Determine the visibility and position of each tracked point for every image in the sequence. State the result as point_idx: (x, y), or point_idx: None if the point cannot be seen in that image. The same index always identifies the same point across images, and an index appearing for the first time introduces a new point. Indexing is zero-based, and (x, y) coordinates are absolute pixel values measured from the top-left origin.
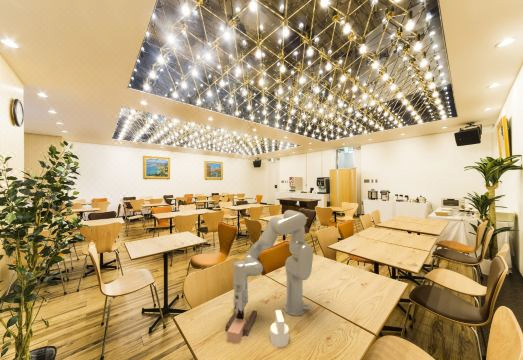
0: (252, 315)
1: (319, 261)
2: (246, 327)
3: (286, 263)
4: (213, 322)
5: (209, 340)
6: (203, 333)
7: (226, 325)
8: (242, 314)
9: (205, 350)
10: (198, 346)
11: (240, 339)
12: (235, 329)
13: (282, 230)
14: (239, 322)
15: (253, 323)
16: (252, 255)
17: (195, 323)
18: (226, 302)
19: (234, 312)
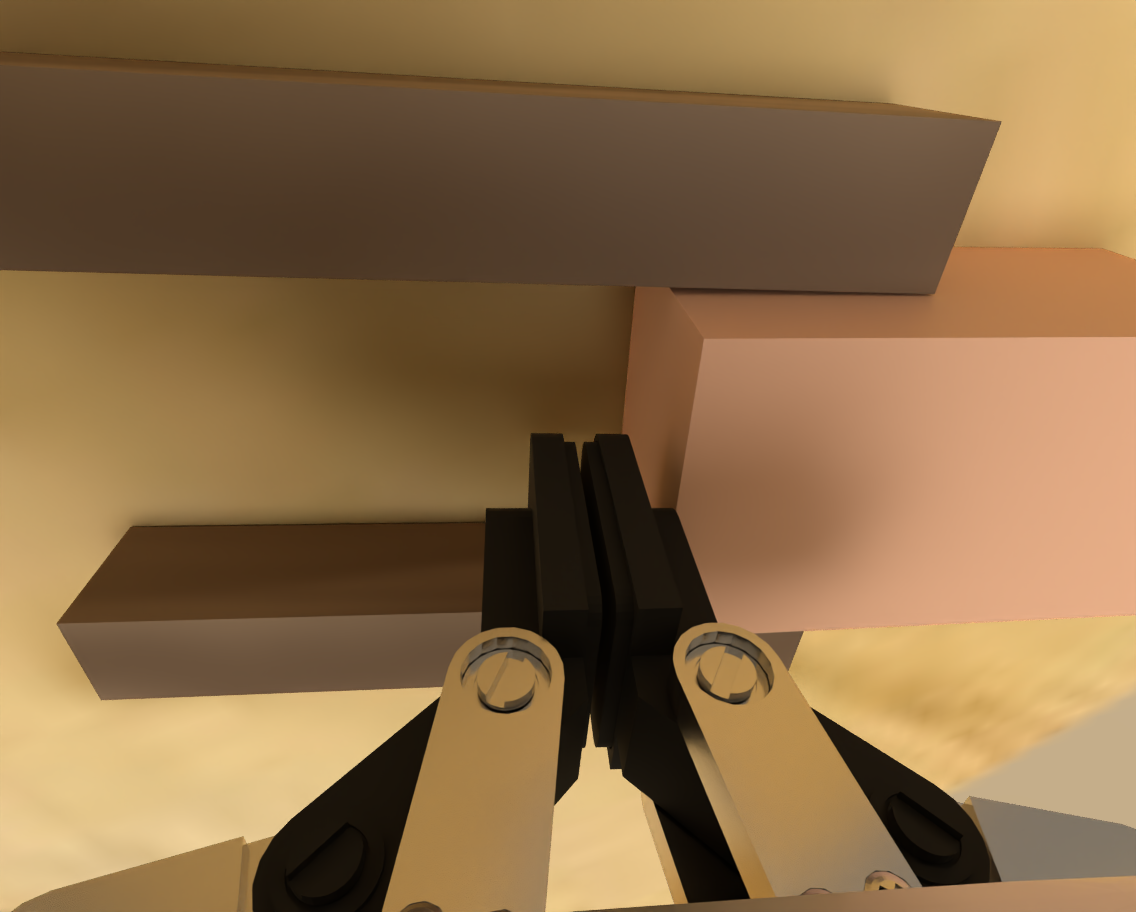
0: (177, 184)
1: None
2: (865, 207)
3: None
4: (584, 769)
5: (938, 679)
6: None
7: (791, 660)
8: (667, 568)
9: (1112, 648)
10: (1023, 726)
11: (1017, 252)
12: (1124, 483)
13: None
14: (832, 486)
15: (362, 73)
16: None
17: (646, 876)
18: (38, 819)
19: (331, 683)
